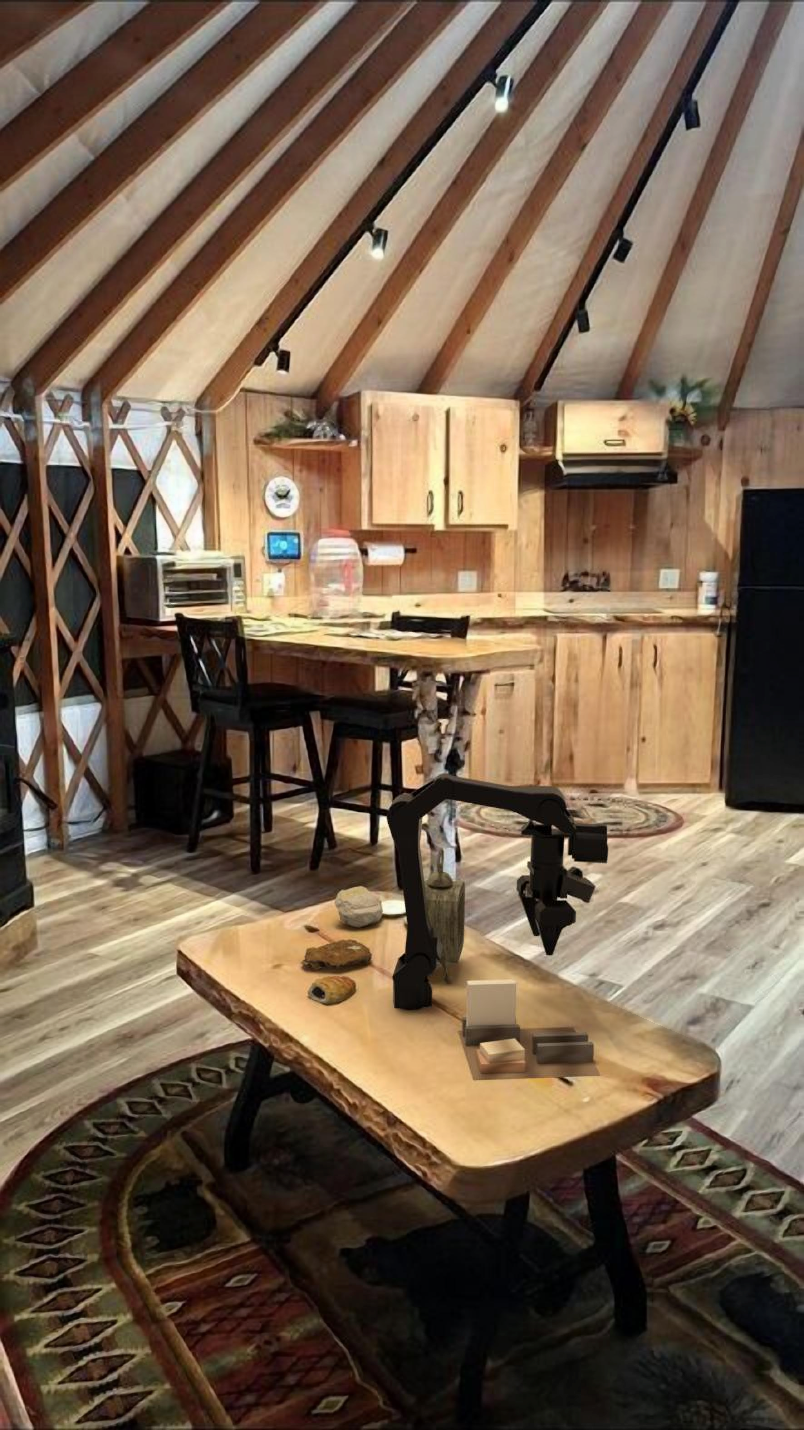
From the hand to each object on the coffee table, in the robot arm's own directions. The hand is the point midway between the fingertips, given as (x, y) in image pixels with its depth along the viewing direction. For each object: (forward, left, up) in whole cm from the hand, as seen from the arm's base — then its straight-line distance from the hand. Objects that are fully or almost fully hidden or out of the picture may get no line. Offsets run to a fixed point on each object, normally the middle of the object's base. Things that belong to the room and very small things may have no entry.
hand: (542, 945), depth 180 cm
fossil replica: (-30, +52, -14) cm, 61 cm away
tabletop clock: (-16, +23, -14) cm, 31 cm away
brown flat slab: (-36, +29, -14) cm, 48 cm away
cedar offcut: (-11, -19, -12) cm, 25 cm away
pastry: (-37, +13, -14) cm, 42 cm away
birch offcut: (-11, -19, -11) cm, 24 cm away
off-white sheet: (-11, -10, -12) cm, 19 cm away
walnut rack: (-6, -15, -14) cm, 21 cm away
